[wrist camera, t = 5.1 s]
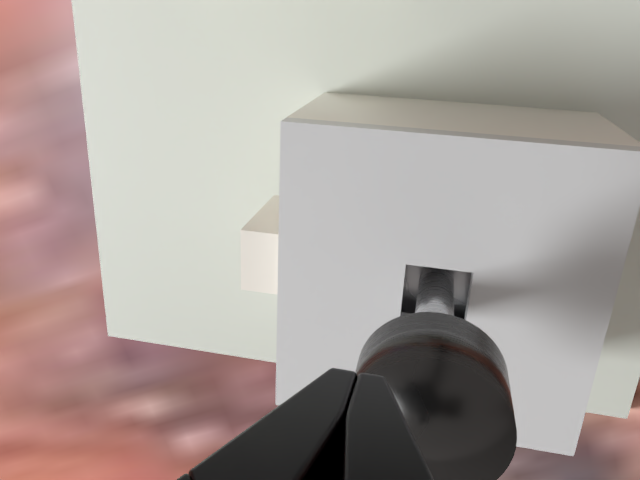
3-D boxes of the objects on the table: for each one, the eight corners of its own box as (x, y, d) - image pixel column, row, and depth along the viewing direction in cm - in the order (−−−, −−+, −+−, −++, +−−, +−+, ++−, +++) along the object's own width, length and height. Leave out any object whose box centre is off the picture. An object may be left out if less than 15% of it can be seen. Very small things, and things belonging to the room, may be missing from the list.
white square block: (597, 112, 19) (653, 152, 14) (544, 350, 22) (573, 456, 17) (286, 89, 21) (229, 116, 15) (281, 312, 24) (233, 397, 19)
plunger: (590, 170, 15) (690, 286, 9) (539, 394, 18) (588, 608, 12) (324, 146, 17) (243, 232, 10) (314, 359, 19) (245, 534, 13)
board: (914, -585, 13) (934, -610, 12) (622, 409, 23) (627, 418, 23) (31, -484, 17) (17, -501, 16) (114, 329, 27) (107, 335, 26)
